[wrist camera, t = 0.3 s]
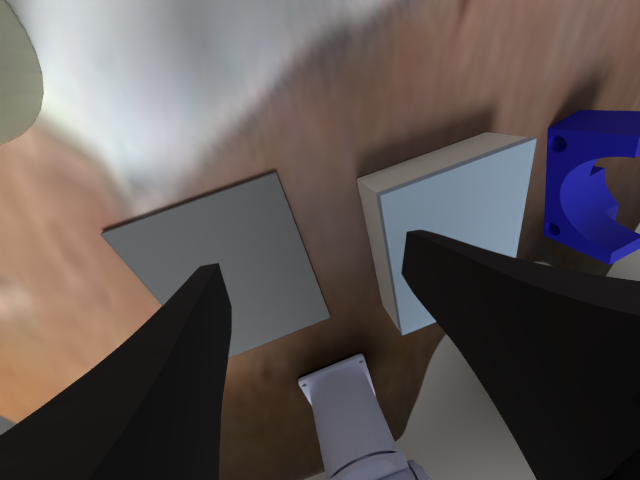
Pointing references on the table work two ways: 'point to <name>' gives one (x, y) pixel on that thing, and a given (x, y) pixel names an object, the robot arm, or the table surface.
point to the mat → (230, 258)
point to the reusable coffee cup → (17, 77)
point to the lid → (456, 214)
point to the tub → (408, 172)
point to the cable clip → (588, 182)
